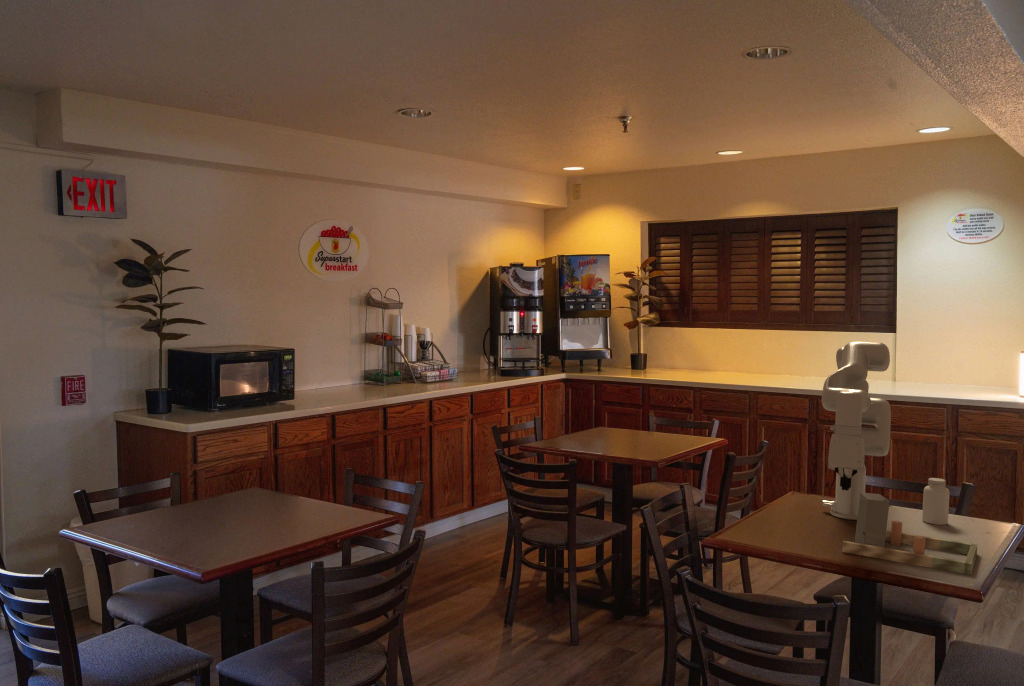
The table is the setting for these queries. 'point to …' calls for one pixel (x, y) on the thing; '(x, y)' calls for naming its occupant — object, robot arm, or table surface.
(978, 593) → the table surface
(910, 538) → the lane
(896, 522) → the post
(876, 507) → the skincare box
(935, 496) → the pill bottle
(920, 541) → the post
